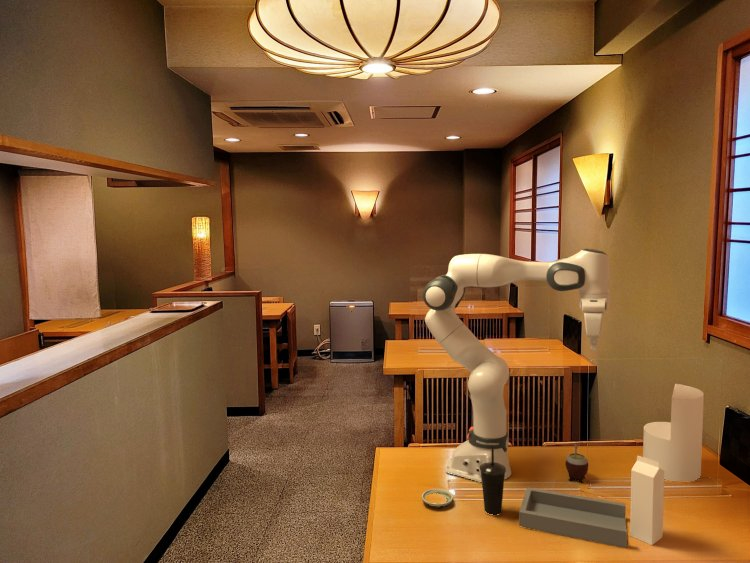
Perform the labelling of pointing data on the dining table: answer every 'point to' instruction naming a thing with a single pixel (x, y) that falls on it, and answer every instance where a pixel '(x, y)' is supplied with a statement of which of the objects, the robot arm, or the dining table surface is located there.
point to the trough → (574, 516)
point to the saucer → (441, 492)
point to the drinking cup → (492, 485)
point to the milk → (647, 501)
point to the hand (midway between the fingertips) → (594, 346)
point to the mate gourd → (576, 466)
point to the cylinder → (678, 436)
